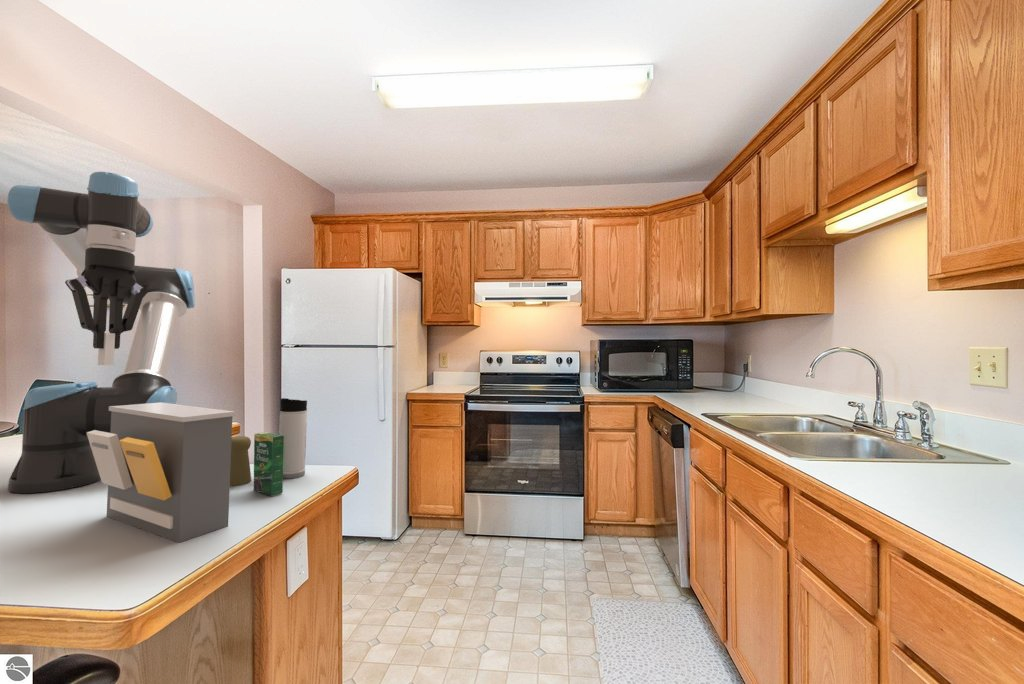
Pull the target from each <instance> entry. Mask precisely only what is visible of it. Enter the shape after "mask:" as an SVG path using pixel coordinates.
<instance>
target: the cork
mask: <svg viewBox="0 0 1024 684" xmlns="http://www.w3.org/2000/svg"><path fill="white" fill-rule="evenodd" d="M251 445H252V441H251V438H250V437H248V436H245V435H237V436H232V441H231V466H230V487H237V486H243V485H247V484H250V483H251V482H252V475H251V474H252V473H251V465H250V456H249V455H250V454H249V449H250V448H251Z"/></svg>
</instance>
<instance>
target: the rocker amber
mask: <svg viewBox="0 0 1024 684" xmlns="http://www.w3.org/2000/svg"><path fill="white" fill-rule="evenodd" d="M119 441H120V444H121V447H122V450H123V452H124V455H125V458H126V461H127V463H128V466H129V469H130V472H131V474H132V477H133V480H134V483H135V486H136V488H137V491H138V493H140V494H144V495H147V496H150V497H154V498H157V499H160V500H166V499H168V498H170V497H172V495H171V492H170V489H169V486H168V484H167V481H166V478H165V475H164V472H163V469H162V466H161V463H160V460H159V457H158V454H157V451H156V448H155V445H154V442H150V441H145V440H140V439H134V438H129V437H127V438H124V439H122V440H119Z"/></svg>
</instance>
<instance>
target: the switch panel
mask: <svg viewBox="0 0 1024 684" xmlns="http://www.w3.org/2000/svg"><path fill="white" fill-rule="evenodd" d="M109 411H111V431H110V433H113V434H117V436H118V439H119V440H122V439H124V438H127V437H129V438H134V439H140V440H145V441H150V442H154V445H155V448H156V451H157V454H158V457H159V460H160V463H161V466H162V469H163V472H164V475H165V478H166V481H167V484H168V486H169V489H170V492H171V495H172V497H170V498H168V499H166V500H160V499H157V498H154V497H150V496H147V495H144V494H140V493H138V491H137V488H136V486H135V483H134V480H133V477H132V474H131V472H130V469H129V466H128V463H127V461H126V458H125V455H124V452H123V450H122V452H123V456H124V459H125V462H126V466H127V469H128V472H129V476H130V479H131V482H132V487H130V488H128V489H125V490H124V489H120V488H117V487H114V486H110V485H107V503H106V517H107V518H110V519H112V520H114V521H118V522H121V523H123V524H126V525H128V526H131V525H132V526H131V527H134V526H135V527H134V528H137V527H138V528H137V529H140V528H141V529H140V530H142V529H143V531H145V530H146V531H145V532H148V531H149V532H148V533H151V534H153V533H154V534H153V535H156V536H159V537H162V538H165V539H168V540H169V541H172V542H176V543H183V542H185V541H188V540H191V539H194V538H197V537H200V536H202V535H206V534H209V533H212V532H214V531H218V530H220V529H223V528H226V527H229V517H230V516H229V515H230V514H229V513H230V509H229V508H230V493H231V492H230V490H231V489H230V488H231V486H230V466H231V441H232V437H233V417H236V411H232V410H226V409H216V408H210V407H209V408H207V407H200V406H194V405H192V406H191V405H184V404H178V403H176V404H170V403H162V402H159V403H147V404H134V405H122V406H109ZM119 442H120V441H119ZM120 446H121V444H120ZM121 449H122V447H121Z"/></svg>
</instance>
